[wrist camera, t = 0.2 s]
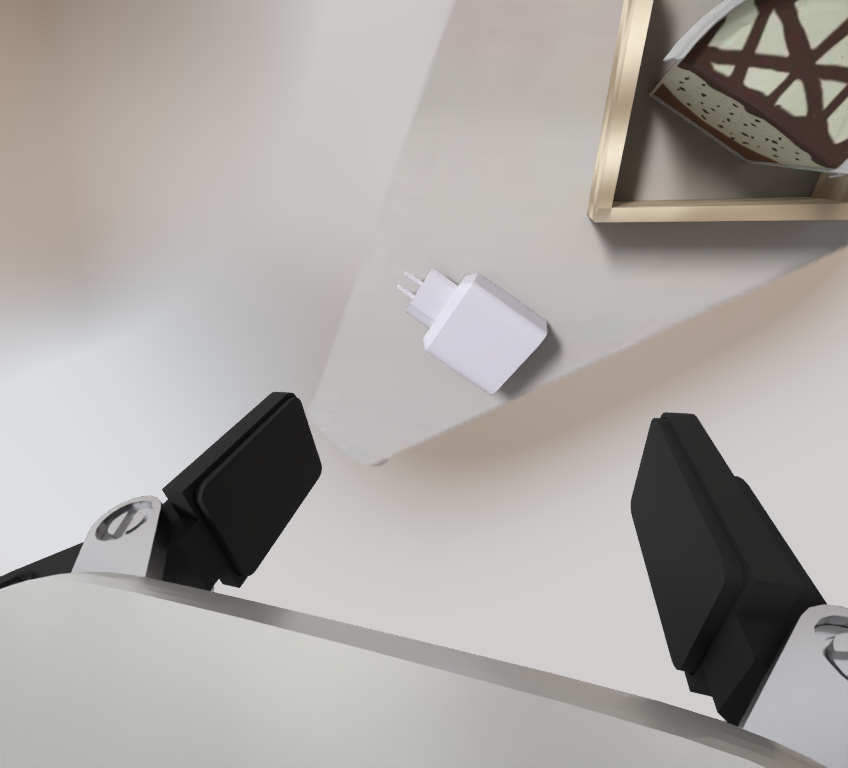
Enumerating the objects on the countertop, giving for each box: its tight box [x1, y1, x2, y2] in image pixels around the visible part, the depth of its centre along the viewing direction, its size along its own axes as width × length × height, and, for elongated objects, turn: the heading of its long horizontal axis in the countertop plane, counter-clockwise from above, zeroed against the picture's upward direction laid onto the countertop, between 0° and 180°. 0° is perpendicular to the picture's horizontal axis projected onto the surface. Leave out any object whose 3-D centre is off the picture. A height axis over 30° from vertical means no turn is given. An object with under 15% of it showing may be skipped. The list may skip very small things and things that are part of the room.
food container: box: [649, 0, 848, 178], centre depth 22 cm, size 12×6×10 cm, turn 62°
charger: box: [397, 268, 547, 395], centre depth 39 cm, size 5×9×15 cm
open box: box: [587, 0, 848, 222], centre depth 25 cm, size 16×17×5 cm
